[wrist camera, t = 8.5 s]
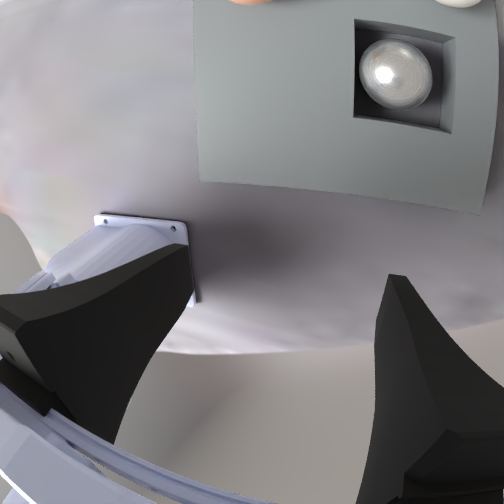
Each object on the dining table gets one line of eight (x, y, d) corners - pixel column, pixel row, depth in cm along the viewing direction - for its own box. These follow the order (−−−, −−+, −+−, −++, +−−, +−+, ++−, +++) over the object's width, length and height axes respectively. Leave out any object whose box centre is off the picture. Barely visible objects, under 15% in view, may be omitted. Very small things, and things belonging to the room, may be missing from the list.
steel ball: (360, 101, 16) (349, 100, 13) (367, 40, 14) (356, 24, 11) (424, 117, 15) (430, 120, 12) (432, 55, 13) (439, 42, 10)
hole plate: (215, 170, 21) (199, 181, 19) (211, -47, 13) (194, -59, 11) (466, 201, 17) (479, 215, 14) (474, -29, 9) (487, -40, 7)
